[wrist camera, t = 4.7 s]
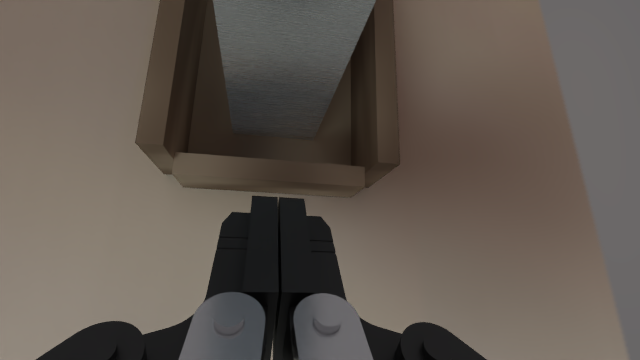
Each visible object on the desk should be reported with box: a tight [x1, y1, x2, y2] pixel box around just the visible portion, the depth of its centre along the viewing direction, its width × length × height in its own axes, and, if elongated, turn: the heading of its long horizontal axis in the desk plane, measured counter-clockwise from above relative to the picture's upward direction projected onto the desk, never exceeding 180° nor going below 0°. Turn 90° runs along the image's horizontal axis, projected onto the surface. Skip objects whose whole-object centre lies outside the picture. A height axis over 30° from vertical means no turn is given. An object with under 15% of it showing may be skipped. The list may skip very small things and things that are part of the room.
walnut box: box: [135, 0, 400, 197], centre depth 15 cm, size 9×14×4 cm, turn 179°
